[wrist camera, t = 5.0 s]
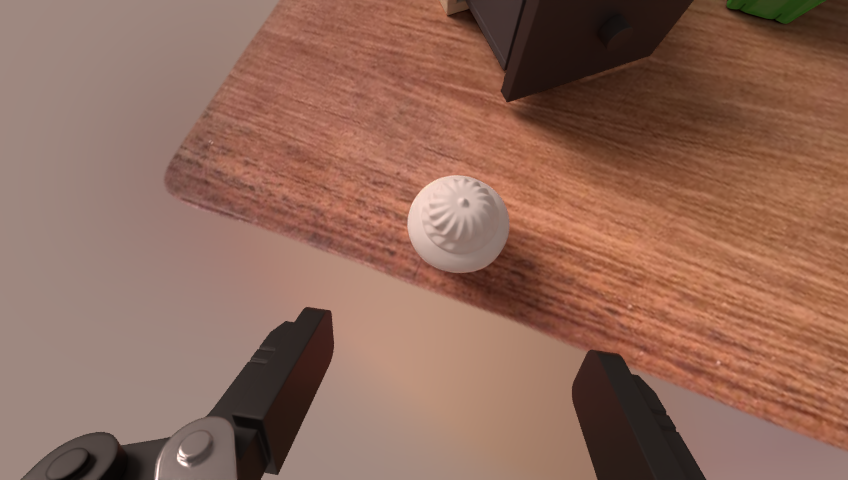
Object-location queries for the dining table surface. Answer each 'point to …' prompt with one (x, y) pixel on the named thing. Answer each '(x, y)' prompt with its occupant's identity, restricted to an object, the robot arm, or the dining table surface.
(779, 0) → the fruit basket
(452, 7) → the cabinet
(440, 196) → the muffin
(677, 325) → the dining table surface
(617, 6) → the pulled-out nightstand drawer
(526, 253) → the dining table surface
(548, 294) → the dining table surface
